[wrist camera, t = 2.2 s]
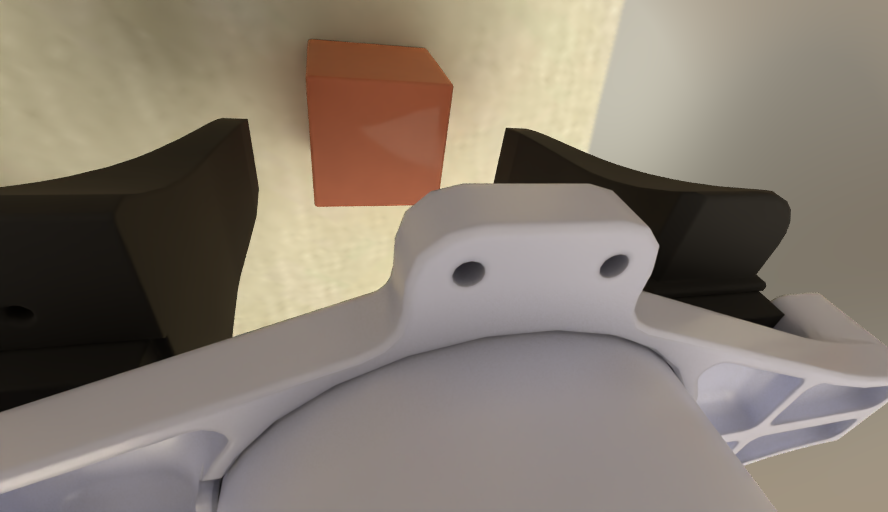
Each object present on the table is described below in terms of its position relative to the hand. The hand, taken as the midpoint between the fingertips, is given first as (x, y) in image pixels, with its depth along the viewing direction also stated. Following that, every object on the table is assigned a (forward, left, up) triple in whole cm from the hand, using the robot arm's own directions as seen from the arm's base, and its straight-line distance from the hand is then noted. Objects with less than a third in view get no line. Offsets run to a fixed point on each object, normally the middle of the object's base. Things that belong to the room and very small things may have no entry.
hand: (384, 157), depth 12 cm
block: (0, 0, -5) cm, 5 cm away
